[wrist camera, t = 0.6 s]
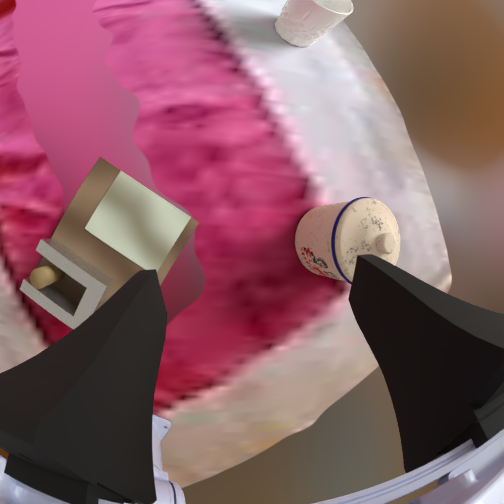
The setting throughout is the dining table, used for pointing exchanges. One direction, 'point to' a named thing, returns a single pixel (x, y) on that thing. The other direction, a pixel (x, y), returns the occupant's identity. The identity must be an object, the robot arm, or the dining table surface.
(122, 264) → the board
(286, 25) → the white cup
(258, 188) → the dining table surface
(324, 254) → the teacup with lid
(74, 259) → the c link
